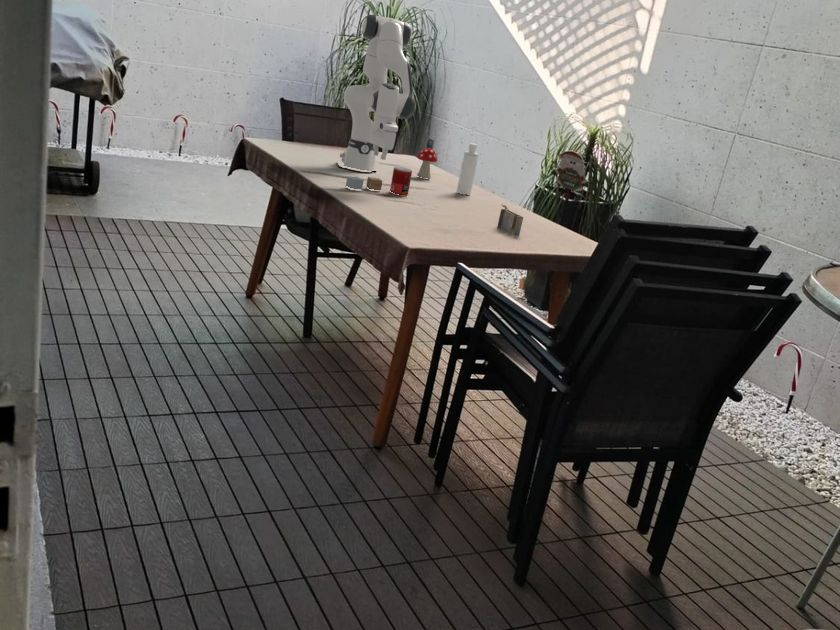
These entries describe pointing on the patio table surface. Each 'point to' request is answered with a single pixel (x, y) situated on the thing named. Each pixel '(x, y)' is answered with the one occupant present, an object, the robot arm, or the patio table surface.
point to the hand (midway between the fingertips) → (379, 157)
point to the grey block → (354, 182)
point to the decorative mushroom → (426, 162)
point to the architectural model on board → (510, 221)
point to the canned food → (401, 180)
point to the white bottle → (468, 170)
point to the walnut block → (374, 183)
